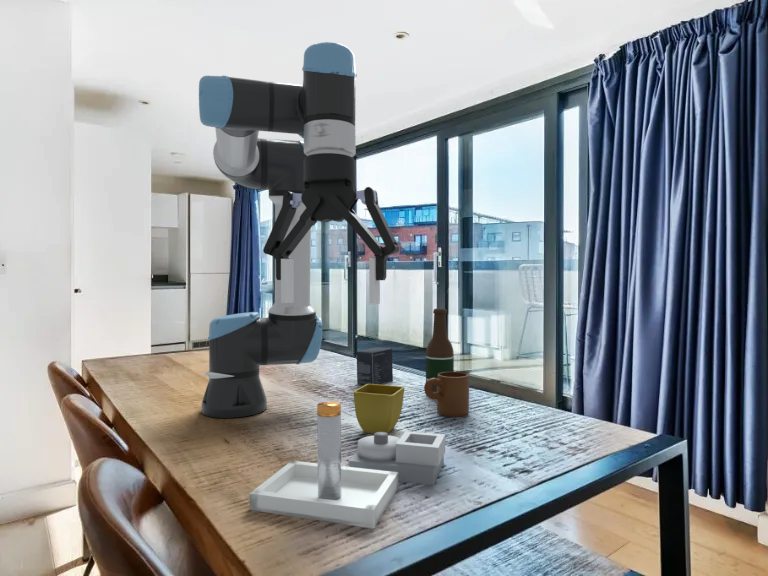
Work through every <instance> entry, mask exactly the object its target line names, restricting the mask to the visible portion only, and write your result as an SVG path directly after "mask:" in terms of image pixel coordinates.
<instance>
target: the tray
mask: <svg viewBox="0 0 768 576" xmlns="http://www.w3.org/2000/svg"><path fill="white" fill-rule="evenodd" d="M398 490H399V481H398V472H392V471H382V470H373V469H364V468H355V467H349V466H345V465H341V498H339V499H337V500H328V499H320V498H318V462H307V461H298V460H291V461H289V462H288V463H287V464H286V465H284V466H283V467H281V468H280V469H279V470H277V471H276V472H275V473H274V474H273V475H272V476H270V477H269V478H267V479H266V480H265V481H264V482H262V483H261V484H260V485H259V486H257V487H256V488H255V489H253V490H252V491H250V493H249V511H253V512H261V513H266V514H267V513H269V514H273V515H274V514H275V515H281V516H286V517H293V518H300V519H306V520H307V519H308V520H313V521H320V522H325V523H326V522H327V523H333V524H341V525H348V526H355V527H360V528H365V529H366V528H368V529H374V528H375V527H376V525H377V524H378V522H379V521H380V519H381V517H382V516H383V515H384V513H385V510H386V509H387V507H388V506H389V504H390V503H391V501H392V500H393V498H394V496H395V494H396V492H397V491H398Z"/></svg>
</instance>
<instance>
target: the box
mask: <svg viewBox="0 0 768 576" xmlns="http://www.w3.org/2000/svg"><path fill="white" fill-rule="evenodd" d="M393 375H394V373H393V349H392V348H390V347H377V346H376V347H371V348H367V349H361V350H356V382H357V383H358V384H357V383H356V384H357V385H361V384H363V385H362V386H364V385H366V384H379V385H385V384H387V383H390V382H393V381H394V378H393V377H394V376H393Z"/></svg>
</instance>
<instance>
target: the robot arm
mask: <svg viewBox="0 0 768 576" xmlns="http://www.w3.org/2000/svg"><path fill="white" fill-rule="evenodd" d="M356 70H357V69H356V57H355V54H354V53H353V51H352V50H351V49H350V48H349V47H347V46H346V45H344V44H341V43H337V42H330V41H329V42H328V41H324V42H317V43H313V44H311V45H309V46H308V47H307V48H306V49H305V50H304V54H303V65H302V68H301V71H302V72H303V73H302V75H303V76H302V77H303V79H302V84H293V83H285V82H283V83H282V82H275V81H267V80H266V81H264V80H256V79H247V78H241V77H234V76H233V77H232V76H228V75H204V76H202V77H201V78H200V79H199V83H198V110H199V121H200V123H201V124H202V125H203V126H205V127H211V128H215V137H216V141H215V143H214V146H213V151H212V153H213V154H212V155H213V160H214V164H215V167H217V169H218V170H219V172H221V173H222V175H223V176H225V177H226V178H227V179H229V180H231V181H232V182H234V183H236V184H238V185H240V186H243V187H244V188H249V189H255V190H265V191H267V190H268V199H269V200H270V201H271V202H272V203H273V204H274V224H273V226H272V228H271V231H270V233H269V236H268V237H267V240H266V243H265V245H264V246H263V249H262V250H263V251H262V252H263V253H264V254H265V255H269V256H271V257H273V258H274V303H273V304H272V306H271V307H270V308H268V310H267V311H268V313H267V315H268V317H261V315H260V314H259V312H258V311H251V312H242V313H234V314H233V313H232V314H228V315H222V316H218V317H215V318H213V319H212V320H211V321H210V323H209V325H208V326H209V330H208V338H207V340H208V341H209V342H208V343H209V344H208V348H209V350H208V351H209V353H208V355H209V356H208V358H209V359H208V360H209V361H208V362H209V364H208V368H209V369H208V372H215V373H221V374H226V375H232V376H234V377H226V378H209V377H208V378H209V379H208V382H207V385H206V389H205V392H204V395H203V398H202V401H201V414H202V415H204V416H206V417H210V418H216V419H217V418H220V419H231V418H232V419H233V418H234V417H235V418H243V417H248V416H253V415H257V414H259V413H262V411H263V412H264V411H266V410H267V409H268V408H267V407H268V400H267V396H266V393H265V389H264V387H263V383H262V382H261V378H260V366H274V365H275V366H276V365H279V366H280V365H300V364H309V363H312V362H314V361H315V360H317V358H318V357H319V354H320V351H321V346H322V340H323V339H322V338H323V320H322V318H321V316H319V315H317V310H316V308H315V307H314V306H313V305H312V304H311V252H312V251H311V247H312V246H311V244H312V243H311V242H312V241H311V239H312V237H311V236H312V233H311V232H312V227H313V226H315V225H316V223H317V222H320V223H329V222H332V221H333V222H338V223H340V222H341V223H343V221H344V220H345V221H346V222H347V223H348V224H349V226H350V227H351V228H352V229H353V230H354V231H355V233H356V234H357V235H358V236H359V237H360V239H361V241H363V242H364V243H365V245H366V246H367V248H368V249H369V250H370V251H371V252H372V254H373V255H374V257H369V258H368V260H369V266H368V268H369V271H368V274H369V277H368V279H369V281H368V283H369V285H368V287H369V288H368V289H369V290H368V293H369V295H368V296H369V297H368V298H369V305H379V304H380V303H381V292H380V291H381V281H386V279H387V259H388V258H389V256H391V255H394V254H397V253H399V251H400V246H399V244H398V242H397V240H396V238H395V235H394V234H393V232H392V229H391V227H390V226H389V224H388V222H387V220H386V218H385V216H384V214H383V211H382V209H381V207H380V204H379V198H378V197H379V196H378V192H377V191H376V189H373V188H372V187H370V186H367V187H365V188H364V189H361V190H357V187H356V184H357V183H356V181H357V177H356V176H357V175H356V172H357V170H356V168H357V167H356V163H357V161H356V160H355V158H354V156H356V154H357V153H356V150H357V149H356V147H357V146H356V144H357V142H356V140H357V139H356V137H357V136H356V91H357V90H356V89H357V88H356V84H357V83H356V79H357V71H356ZM259 132H270V133H271V132H272V133H281V134H294V135H299V137H301V138H302V139H303V141H302V140H289V139H288V140H287V139H272V138H260V137H259ZM359 200H360V202H361V203H362V204H363V205H365V206H366V209H367V212H368V213H369V215H370V218H371V219H372V221H373V223H374V226H375V227H376V229H377V232H378V233H379V236H380V239H381V240H382V242H383V244H384V246H383V245H382V243H380V242H379V241H378V239H377V238H376V237H375V235H374V234H373V233H372V232H371V230H370V229H369V228H368V227H367V226H366V225H365V223H364V222H363V221H362V219H361V218H360V216H359V215H358V214H357V213H356V211H355V210H354V207H355V206H356V205H357V203H358V201H359ZM265 409H266V410H265Z"/></svg>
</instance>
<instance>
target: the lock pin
mask: <svg viewBox="0 0 768 576" xmlns="http://www.w3.org/2000/svg"><path fill="white" fill-rule="evenodd" d="M341 407H342V404H341V403H340V402H338V401H322V402H319V403H317V404H316V408H317V409H316V414H317V415H316V419H317V422H316V424H317V425H316V427H317V438H316V439H317V463H318V498H320V499H328V500H337V499H339V498H341V466H342V412H341V411H342V409H341Z"/></svg>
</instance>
